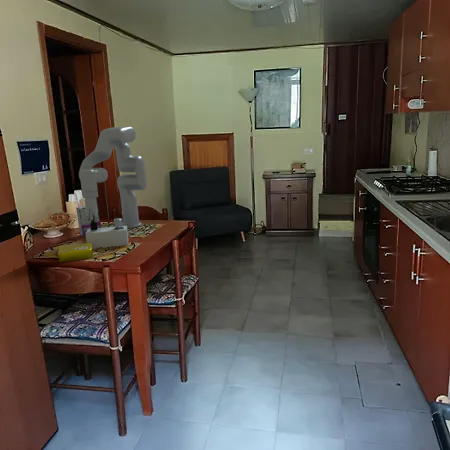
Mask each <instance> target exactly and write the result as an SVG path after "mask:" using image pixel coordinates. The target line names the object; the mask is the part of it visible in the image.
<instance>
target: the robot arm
mask: <svg viewBox="0 0 450 450" xmlns="http://www.w3.org/2000/svg"><path fill="white" fill-rule="evenodd" d="M136 137H137V134H136V130H135V129H134V127H132V126H115V127H114V126H113V127H109V128H105V129H102V130H101V131H100V134H99V136H98V140H97V143H96V146H95V149H94V150H93V151H92V152H91V153H89V154H88V155H87V156H86V157H85V158H84V159H83V160H82V163H81V165H80V168H79V171H78V178H79V180H80V185H81V186H80V187H81V195H82V198H83V199H84V206H85V211H86V217H87V218H88V217H90V226H91V230H97V229H98V226H97V220H96V216H97V214H98V212H97V205H98V201H97V198H98V197H99V192H98V191H99V190H98V183H104V182H105V181H107V180H108V177H109V174H108V171H107V169H105V168H103V167H94V166H95V165H97V164H100V163H102V162H104V161H106V160H108V159H109V158H111V156H112V152H113V149H114V151H115V155H116V163H117V169H118V171H119V172H121V173H130V174H122V175H119V176H118V178H117V181H116V183H117V188H118V190H119V195H120V196H119V197H120V205H121V215H122V226H127V229H134V228H139V227H141V226H142V225H143V223H142V222H141V221H140V219H139V218H140V217H139V207H138V198H137V194H136V193H135V192H134V191H143V190H145V189H146V188H147V183H148V181H147V172H146V164H145V160H144V158H143V157H142V156H141V155H140V156H139V155H132V152H131V147H130V145H129V144H130V143H132V142H135V139H136ZM131 173H132V174H131ZM133 173H135V174H133Z"/></svg>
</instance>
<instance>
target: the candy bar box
mask: <svg viewBox="0 0 450 450" xmlns="http://www.w3.org/2000/svg"><path fill="white" fill-rule="evenodd" d="M75 210H76V216H77V221H78V230H79V235H80V236H82V237H86V234H85V233H86V232H87V230H88V229H91V226H90V217H88V218H87V217H86V211H85V205H84V206H79V207H76V209H75ZM97 212H98V214H97V216H96V220H97V226H98V228H102V226H101V222H100V220H101V219H100V212H99V206H98V204H97Z"/></svg>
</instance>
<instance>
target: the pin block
mask: <svg viewBox="0 0 450 450" xmlns="http://www.w3.org/2000/svg"><path fill="white" fill-rule="evenodd" d="M98 229H99V231H96V232H91V229H88V230H87V232H86V233H85V234H86V236H85V241H86V242H85V243H87V242H90V243H91V245H92V249H100V247H102V248H110V247H111V246H113V247H121V246H122V247H123V246H128V245H129V233H128V232H129V231H128V228H127V226H123V229H119V230H115V226H109V227H108V226H107V227H101V228H98ZM111 248H112V247H111Z"/></svg>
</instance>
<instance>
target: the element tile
mask: <svg viewBox="0 0 450 450" xmlns="http://www.w3.org/2000/svg"><path fill="white" fill-rule="evenodd" d="M93 253H94V252H93V248H92V245H91V243H90V242H81V243H73V244H66V245H60V246H58V251H57V255H58V262H60V263H61V262H70V261H78V260H83V259H84V260H85V259H91V258H93V257H94V254H93Z"/></svg>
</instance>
